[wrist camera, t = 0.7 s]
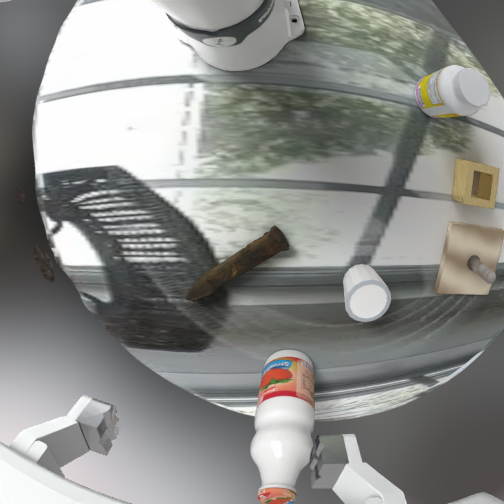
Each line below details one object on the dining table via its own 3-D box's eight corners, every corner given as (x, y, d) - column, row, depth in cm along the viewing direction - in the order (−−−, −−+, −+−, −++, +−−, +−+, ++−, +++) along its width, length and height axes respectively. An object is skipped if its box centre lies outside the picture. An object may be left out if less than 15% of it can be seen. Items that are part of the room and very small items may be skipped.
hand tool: (277, 221, 46) (275, 229, 41) (291, 243, 47) (290, 254, 42) (181, 276, 51) (171, 289, 47) (194, 295, 52) (186, 309, 48)
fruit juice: (295, 389, 57) (286, 515, 31) (255, 371, 56) (227, 499, 30) (323, 361, 53) (328, 496, 28) (280, 339, 53) (263, 480, 27)
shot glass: (351, 253, 46) (359, 272, 39) (387, 269, 46) (400, 290, 39) (331, 290, 48) (336, 313, 42) (367, 304, 48) (375, 328, 42)
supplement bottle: (457, 97, 34) (503, 90, 22) (437, 127, 37) (482, 127, 25) (426, 67, 34) (466, 49, 22) (405, 97, 36) (443, 85, 24)
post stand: (449, 221, 41) (474, 238, 33) (500, 228, 40) (527, 245, 32) (433, 289, 46) (453, 315, 38) (484, 290, 44) (506, 314, 36)
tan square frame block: (456, 158, 38) (468, 160, 34) (486, 165, 37) (499, 168, 33) (451, 198, 40) (463, 203, 36) (481, 203, 39) (493, 209, 35)
